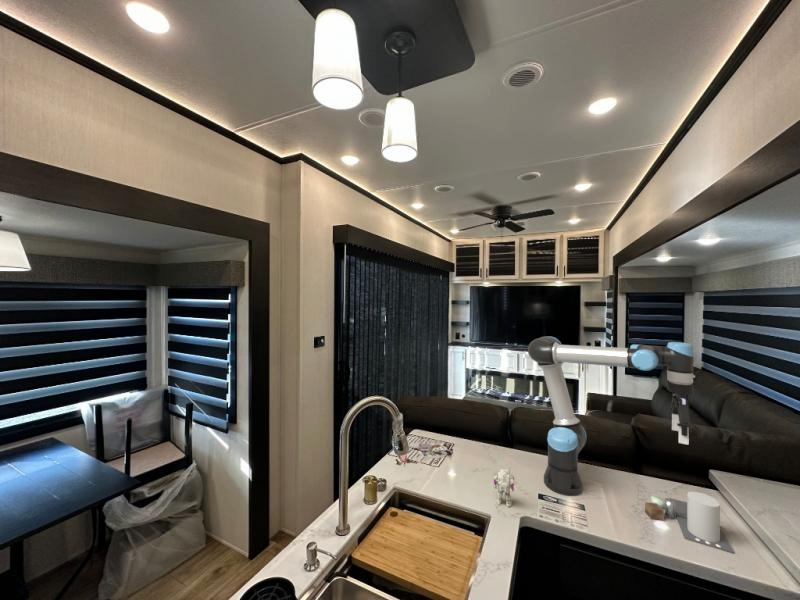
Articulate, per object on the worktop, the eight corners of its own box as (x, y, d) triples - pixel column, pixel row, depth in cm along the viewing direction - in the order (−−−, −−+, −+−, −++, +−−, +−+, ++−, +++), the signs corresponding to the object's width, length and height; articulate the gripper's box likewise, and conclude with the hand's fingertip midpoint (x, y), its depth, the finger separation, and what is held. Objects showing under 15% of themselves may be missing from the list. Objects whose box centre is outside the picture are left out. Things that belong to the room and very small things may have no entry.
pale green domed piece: (664, 511, 120) (664, 504, 120) (651, 507, 122) (651, 499, 122) (663, 505, 123) (663, 498, 123) (650, 501, 125) (650, 494, 125)
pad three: (684, 538, 106) (684, 537, 106) (676, 517, 116) (676, 516, 116) (734, 553, 100) (734, 552, 100) (721, 530, 110) (721, 528, 110)
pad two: (676, 516, 117) (676, 514, 117) (669, 498, 127) (669, 497, 127) (720, 528, 111) (720, 527, 111) (709, 509, 121) (709, 507, 121)
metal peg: (665, 517, 116) (665, 501, 116) (663, 512, 119) (663, 497, 119) (676, 520, 115) (676, 504, 115) (674, 515, 117) (674, 499, 117)
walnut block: (651, 519, 115) (651, 509, 115) (645, 512, 119) (645, 502, 119) (663, 521, 114) (663, 510, 114) (657, 513, 118) (657, 503, 118)
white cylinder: (726, 544, 103) (726, 508, 103) (698, 540, 105) (698, 504, 105) (707, 526, 111) (707, 493, 111) (681, 523, 113) (681, 490, 113)
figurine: (518, 507, 122) (518, 469, 122) (503, 513, 119) (503, 474, 119) (503, 495, 129) (503, 459, 129) (489, 501, 126) (489, 464, 126)
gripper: (701, 392, 108) (701, 452, 109) (685, 377, 129) (685, 427, 129) (673, 388, 113) (673, 446, 113) (662, 374, 133) (662, 423, 133)
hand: (679, 436), depth 121 cm, fingers open, 13 cm apart
